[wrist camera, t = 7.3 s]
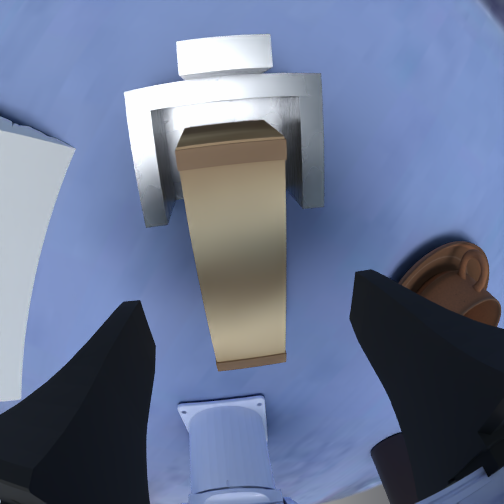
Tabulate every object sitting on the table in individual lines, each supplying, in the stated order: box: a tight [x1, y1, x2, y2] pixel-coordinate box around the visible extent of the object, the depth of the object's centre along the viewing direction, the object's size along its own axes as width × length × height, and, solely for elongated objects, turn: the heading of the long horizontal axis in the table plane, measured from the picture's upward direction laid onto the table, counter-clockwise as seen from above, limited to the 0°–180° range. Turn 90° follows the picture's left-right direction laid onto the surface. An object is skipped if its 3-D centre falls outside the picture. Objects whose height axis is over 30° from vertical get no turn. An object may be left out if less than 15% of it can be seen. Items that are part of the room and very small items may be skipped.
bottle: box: [371, 433, 419, 504], centre depth 29 cm, size 7×7×20 cm
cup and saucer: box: [399, 241, 501, 327], centre depth 21 cm, size 12×12×6 cm
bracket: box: [124, 34, 324, 228], centre depth 13 cm, size 7×8×7 cm
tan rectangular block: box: [175, 120, 287, 371], centre depth 16 cm, size 13×4×5 cm, turn 4°
